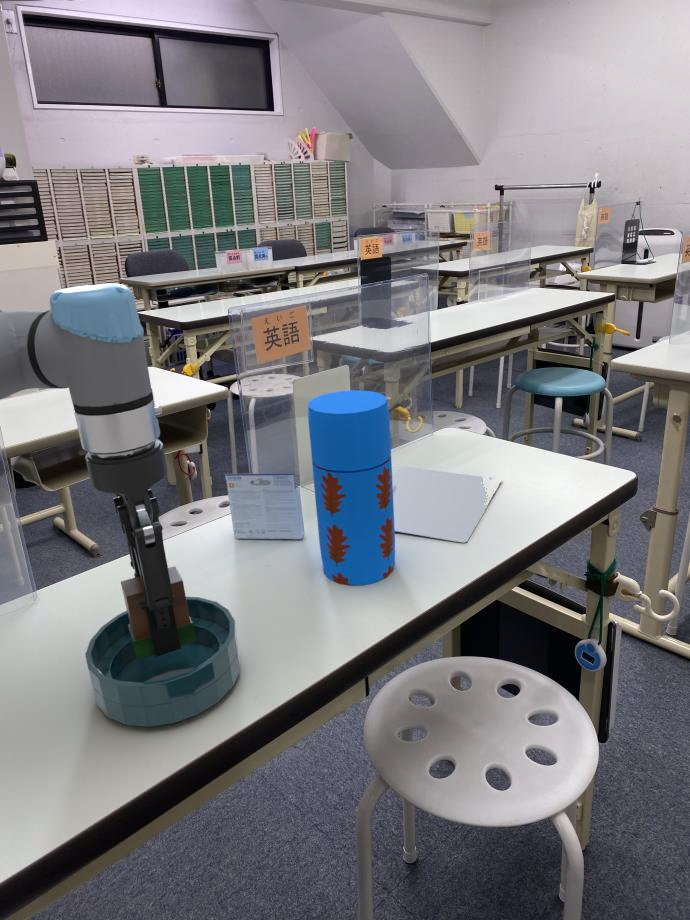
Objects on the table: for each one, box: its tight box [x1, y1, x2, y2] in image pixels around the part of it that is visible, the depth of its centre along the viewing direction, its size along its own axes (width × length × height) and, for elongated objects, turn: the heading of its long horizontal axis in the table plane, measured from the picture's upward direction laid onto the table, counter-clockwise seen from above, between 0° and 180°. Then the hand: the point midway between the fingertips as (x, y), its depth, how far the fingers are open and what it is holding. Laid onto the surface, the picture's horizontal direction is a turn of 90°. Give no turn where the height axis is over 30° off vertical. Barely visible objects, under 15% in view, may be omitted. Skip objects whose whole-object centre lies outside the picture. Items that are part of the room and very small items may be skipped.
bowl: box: [85, 596, 241, 728], centre depth 78 cm, size 16×16×6 cm
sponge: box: [120, 565, 196, 660], centre depth 75 cm, size 4×6×8 cm, turn 116°
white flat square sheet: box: [392, 466, 490, 544], centre depth 119 cm, size 25×24×1 cm
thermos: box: [307, 389, 396, 586], centre depth 95 cm, size 11×11×25 cm
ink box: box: [224, 472, 306, 540], centre depth 108 cm, size 12×2×12 cm, turn 80°
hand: (163, 640), depth 77 cm, fingers closed on sponge, 4 cm apart
